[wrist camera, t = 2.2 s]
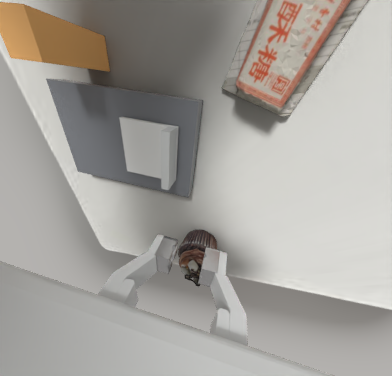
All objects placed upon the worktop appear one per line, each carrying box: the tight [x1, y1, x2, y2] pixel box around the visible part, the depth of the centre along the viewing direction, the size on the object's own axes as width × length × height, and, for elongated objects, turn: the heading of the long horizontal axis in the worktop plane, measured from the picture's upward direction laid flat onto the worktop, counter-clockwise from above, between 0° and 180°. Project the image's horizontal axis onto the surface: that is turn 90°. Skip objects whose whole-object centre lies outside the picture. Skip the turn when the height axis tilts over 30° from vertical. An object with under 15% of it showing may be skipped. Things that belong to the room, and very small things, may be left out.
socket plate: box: [46, 79, 203, 197], centre depth 28 cm, size 16×24×3 cm, turn 83°
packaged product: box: [222, 0, 368, 117], centre depth 15 cm, size 18×5×10 cm
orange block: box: [0, 2, 110, 71], centre depth 19 cm, size 4×4×10 cm
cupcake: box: [178, 230, 217, 286], centre depth 36 cm, size 10×10×10 cm
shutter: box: [119, 117, 179, 190], centre depth 24 cm, size 9×9×4 cm
